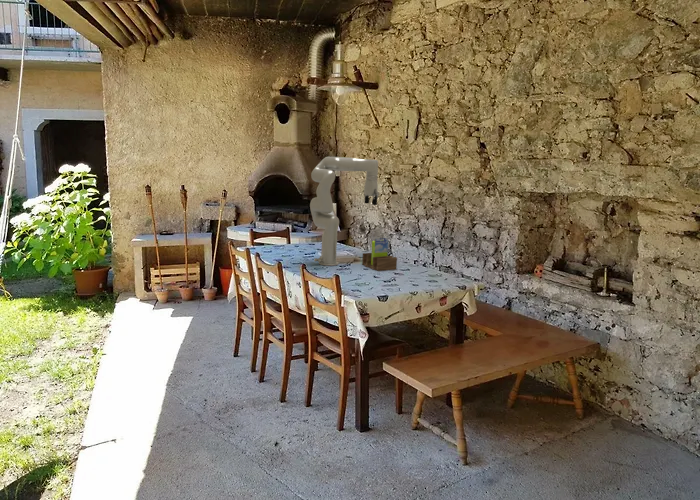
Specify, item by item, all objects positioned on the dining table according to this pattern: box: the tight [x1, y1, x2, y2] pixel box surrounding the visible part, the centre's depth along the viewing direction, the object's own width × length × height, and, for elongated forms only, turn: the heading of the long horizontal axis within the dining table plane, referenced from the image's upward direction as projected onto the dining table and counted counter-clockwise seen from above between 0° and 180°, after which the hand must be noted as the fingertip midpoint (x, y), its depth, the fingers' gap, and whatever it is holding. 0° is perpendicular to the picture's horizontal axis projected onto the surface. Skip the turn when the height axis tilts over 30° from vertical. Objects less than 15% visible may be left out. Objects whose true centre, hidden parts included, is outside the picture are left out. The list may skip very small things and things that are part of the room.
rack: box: [361, 252, 398, 272], centre depth 352 cm, size 18×14×8 cm
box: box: [371, 237, 390, 265], centre depth 351 cm, size 10×4×17 cm, turn 121°
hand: (370, 204), depth 376 cm, fingers open, 9 cm apart
